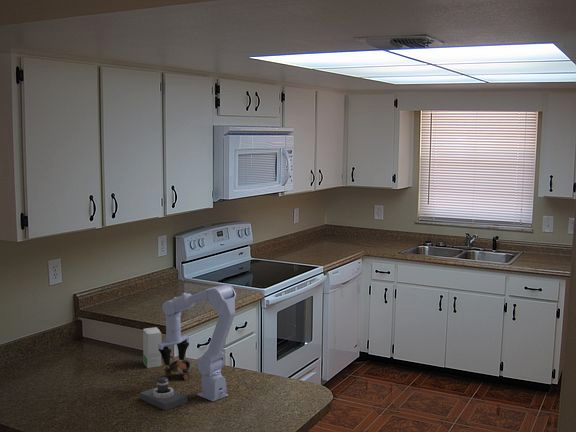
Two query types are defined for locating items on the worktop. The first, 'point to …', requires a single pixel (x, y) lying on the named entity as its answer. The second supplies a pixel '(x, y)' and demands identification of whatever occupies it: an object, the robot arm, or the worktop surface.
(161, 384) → the lens
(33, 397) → the worktop surface
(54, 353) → the worktop surface
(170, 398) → the camera body
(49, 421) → the worktop surface
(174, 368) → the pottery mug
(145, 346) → the skincare box
